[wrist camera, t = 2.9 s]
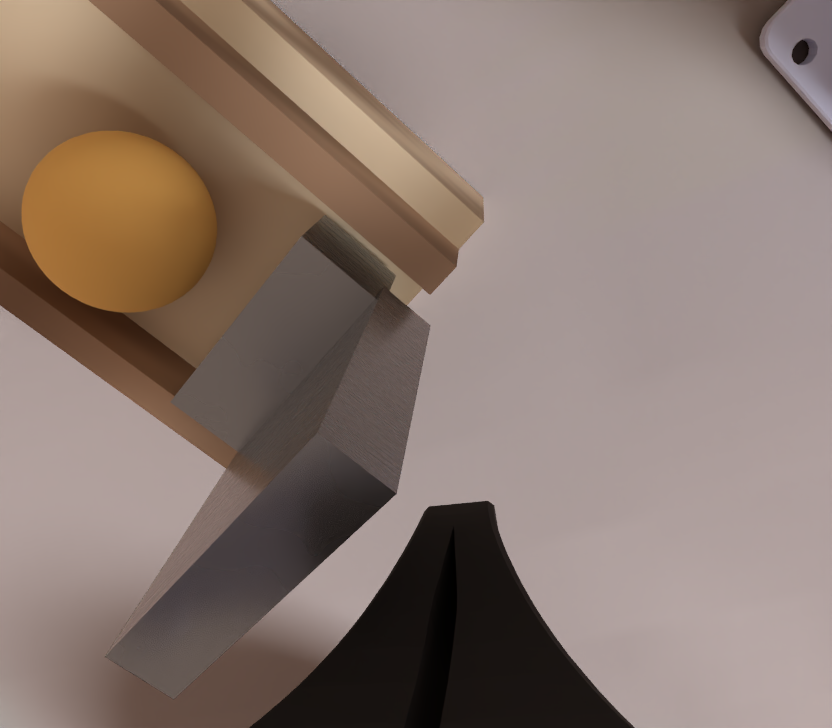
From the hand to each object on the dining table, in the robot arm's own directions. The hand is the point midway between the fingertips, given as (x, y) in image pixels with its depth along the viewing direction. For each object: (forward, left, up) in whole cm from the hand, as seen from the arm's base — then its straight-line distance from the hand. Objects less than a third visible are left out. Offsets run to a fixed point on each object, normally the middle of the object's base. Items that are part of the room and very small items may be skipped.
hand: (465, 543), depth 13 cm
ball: (+9, 0, -2) cm, 9 cm away
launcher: (+10, 0, -6) cm, 12 cm away
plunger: (+5, 0, -3) cm, 6 cm away
